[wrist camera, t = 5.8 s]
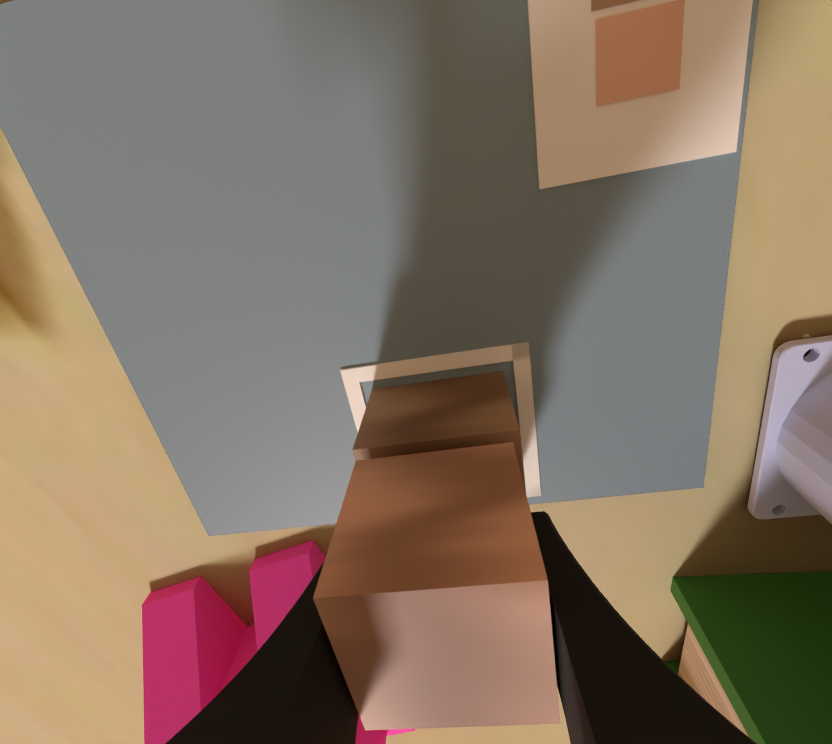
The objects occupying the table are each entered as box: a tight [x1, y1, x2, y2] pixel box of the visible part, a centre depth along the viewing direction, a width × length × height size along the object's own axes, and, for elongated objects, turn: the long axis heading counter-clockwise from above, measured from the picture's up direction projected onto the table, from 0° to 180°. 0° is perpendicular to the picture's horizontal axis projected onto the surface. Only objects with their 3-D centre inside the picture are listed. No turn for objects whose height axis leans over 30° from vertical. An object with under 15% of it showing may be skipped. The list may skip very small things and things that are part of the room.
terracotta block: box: [313, 442, 560, 730], centre depth 11 cm, size 4×4×4 cm
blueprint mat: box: [0, 0, 759, 536], centre depth 15 cm, size 22×20×1 cm
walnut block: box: [352, 371, 526, 492], centre depth 16 cm, size 5×5×4 cm
